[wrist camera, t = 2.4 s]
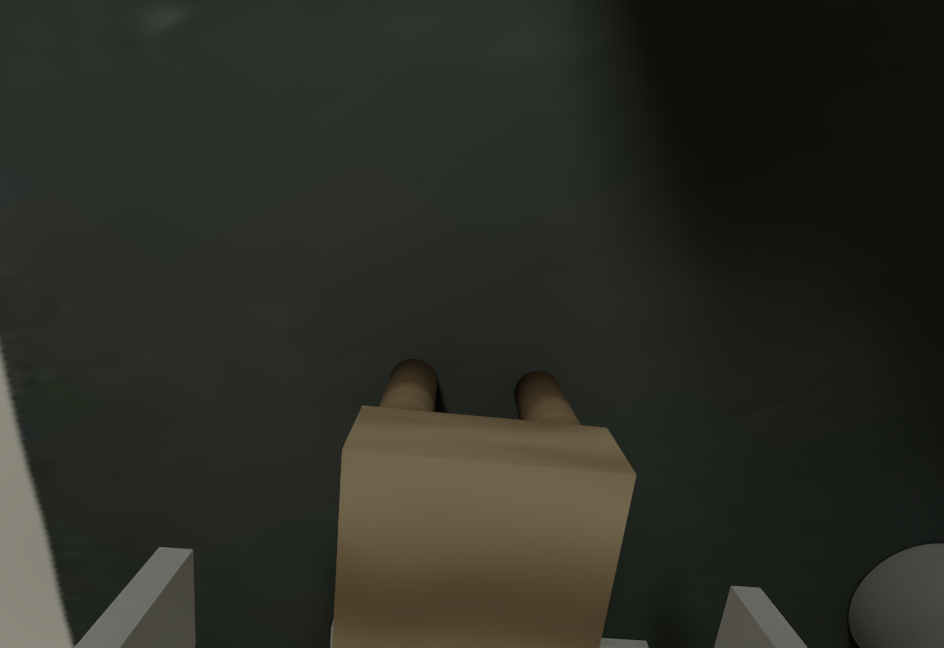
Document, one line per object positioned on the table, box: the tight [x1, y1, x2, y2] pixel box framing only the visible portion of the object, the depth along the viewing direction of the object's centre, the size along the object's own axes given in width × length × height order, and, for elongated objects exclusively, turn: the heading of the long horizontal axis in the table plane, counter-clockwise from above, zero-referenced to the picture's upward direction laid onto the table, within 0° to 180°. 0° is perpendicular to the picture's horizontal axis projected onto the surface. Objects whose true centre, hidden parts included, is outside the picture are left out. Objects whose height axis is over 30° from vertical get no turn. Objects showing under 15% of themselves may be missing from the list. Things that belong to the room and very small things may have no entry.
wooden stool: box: [332, 359, 636, 648], centre depth 16 cm, size 7×7×8 cm
